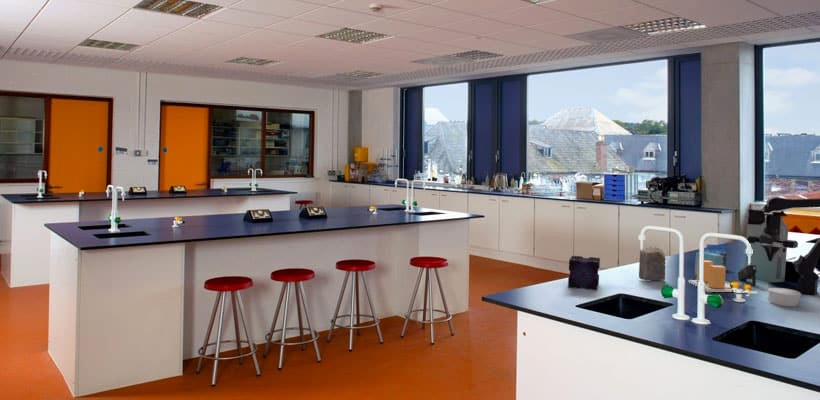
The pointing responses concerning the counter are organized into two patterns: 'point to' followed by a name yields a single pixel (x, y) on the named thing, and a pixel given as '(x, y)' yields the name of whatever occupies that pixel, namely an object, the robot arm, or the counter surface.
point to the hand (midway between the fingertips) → (770, 261)
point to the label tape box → (717, 251)
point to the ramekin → (783, 296)
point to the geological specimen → (652, 264)
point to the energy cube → (584, 272)
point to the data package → (709, 259)
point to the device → (764, 267)
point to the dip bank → (710, 289)
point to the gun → (748, 274)
